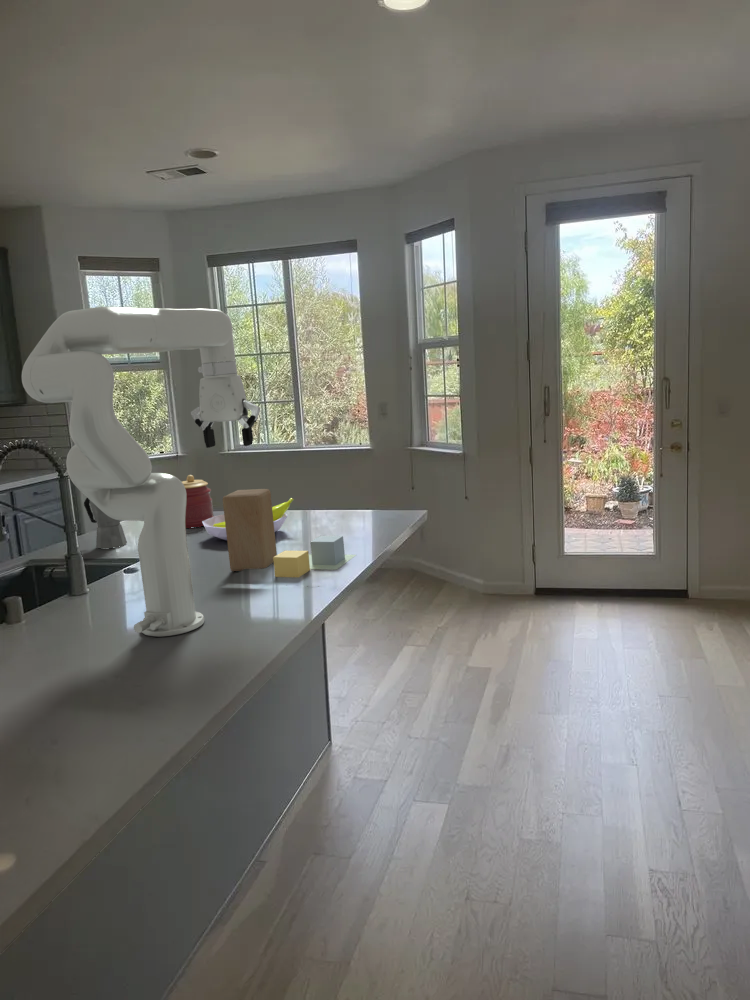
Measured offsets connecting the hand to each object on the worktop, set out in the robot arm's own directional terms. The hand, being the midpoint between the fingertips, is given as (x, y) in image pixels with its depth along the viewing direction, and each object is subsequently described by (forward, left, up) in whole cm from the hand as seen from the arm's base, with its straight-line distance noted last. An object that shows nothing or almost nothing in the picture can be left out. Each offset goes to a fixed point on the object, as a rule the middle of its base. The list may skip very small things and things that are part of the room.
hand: (229, 446), depth 169 cm
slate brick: (+20, -13, -33) cm, 41 cm away
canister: (+67, +57, -34) cm, 94 cm away
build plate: (+20, -11, -34) cm, 41 cm away
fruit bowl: (+51, +27, -34) cm, 67 cm away
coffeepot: (+38, +70, -34) cm, 86 cm away
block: (+17, +7, -34) cm, 39 cm away
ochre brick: (+9, -8, -34) cm, 36 cm away
